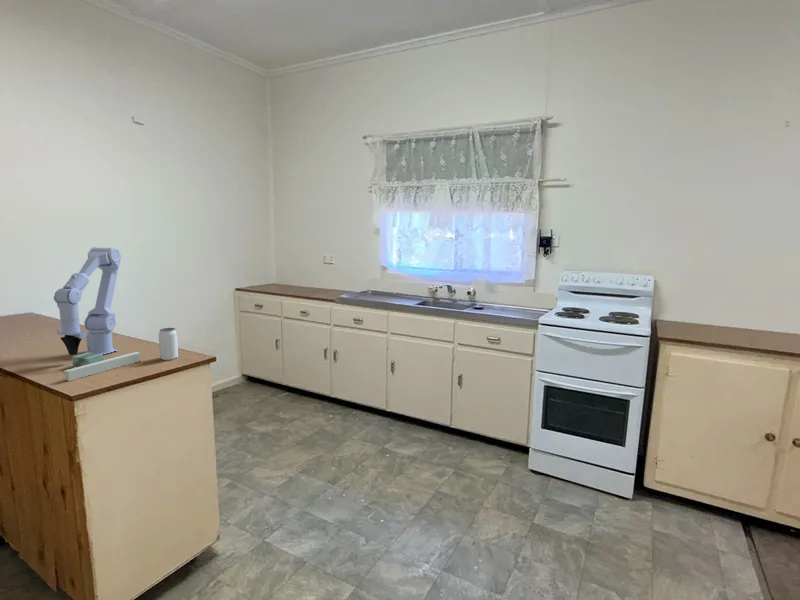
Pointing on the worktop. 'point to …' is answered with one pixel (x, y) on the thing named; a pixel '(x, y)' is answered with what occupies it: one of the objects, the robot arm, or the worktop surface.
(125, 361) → the board
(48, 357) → the worktop surface
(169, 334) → the can
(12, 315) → the worktop surface
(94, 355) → the block
